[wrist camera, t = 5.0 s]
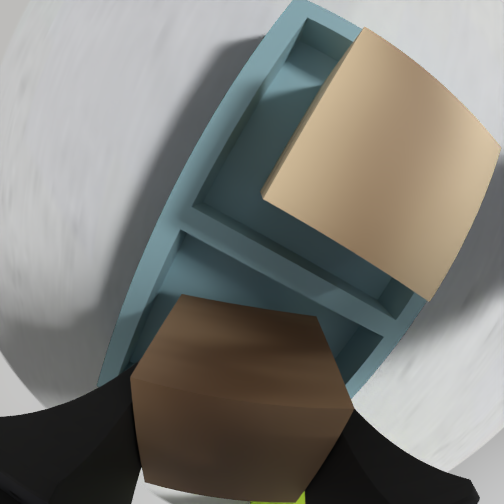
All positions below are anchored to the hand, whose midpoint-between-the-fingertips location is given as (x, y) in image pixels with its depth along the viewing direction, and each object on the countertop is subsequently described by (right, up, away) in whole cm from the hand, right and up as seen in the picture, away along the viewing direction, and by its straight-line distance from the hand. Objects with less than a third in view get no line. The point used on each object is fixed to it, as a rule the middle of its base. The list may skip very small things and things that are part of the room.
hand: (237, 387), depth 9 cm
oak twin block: (+4, +8, +1) cm, 9 cm away
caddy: (+2, +5, +3) cm, 6 cm away
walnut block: (0, 0, +1) cm, 2 cm away
